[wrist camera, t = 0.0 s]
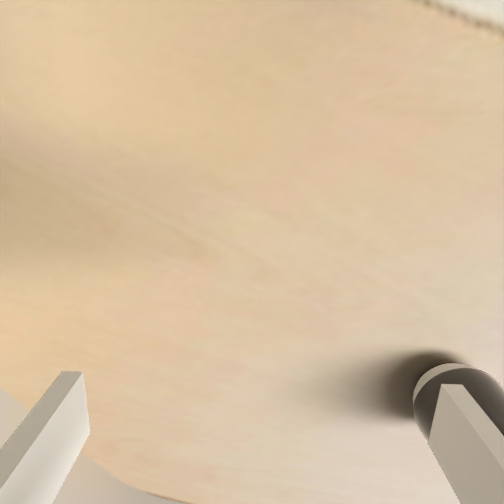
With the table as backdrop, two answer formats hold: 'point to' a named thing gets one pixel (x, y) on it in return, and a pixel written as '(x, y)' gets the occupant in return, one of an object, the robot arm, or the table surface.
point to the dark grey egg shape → (475, 382)
